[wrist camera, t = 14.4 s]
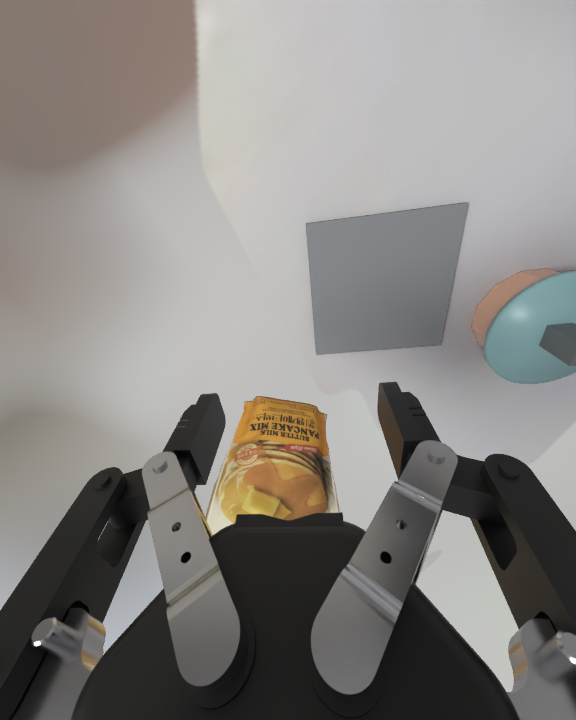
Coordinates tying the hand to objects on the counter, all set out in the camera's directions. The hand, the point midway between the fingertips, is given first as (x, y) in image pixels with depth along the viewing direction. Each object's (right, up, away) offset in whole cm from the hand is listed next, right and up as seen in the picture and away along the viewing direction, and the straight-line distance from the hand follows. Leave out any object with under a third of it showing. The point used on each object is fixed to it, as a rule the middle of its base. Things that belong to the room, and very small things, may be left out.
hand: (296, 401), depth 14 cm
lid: (+34, +6, +23) cm, 42 cm away
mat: (+13, +13, +27) cm, 32 cm away
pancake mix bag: (-1, -8, +41) cm, 42 cm away
